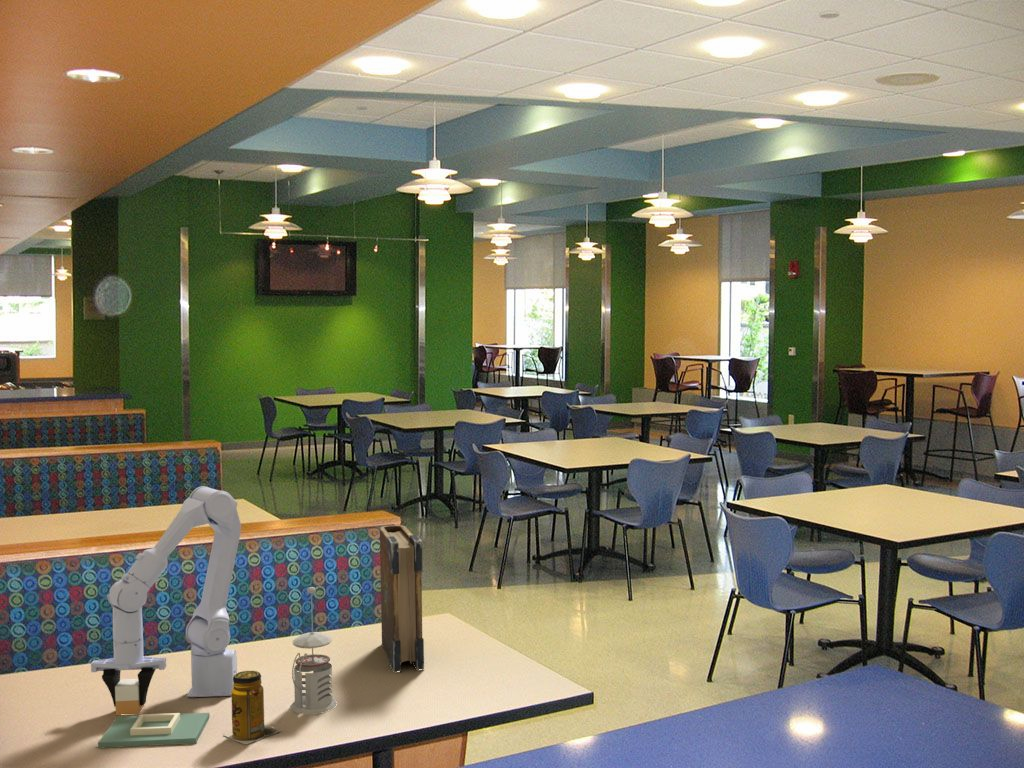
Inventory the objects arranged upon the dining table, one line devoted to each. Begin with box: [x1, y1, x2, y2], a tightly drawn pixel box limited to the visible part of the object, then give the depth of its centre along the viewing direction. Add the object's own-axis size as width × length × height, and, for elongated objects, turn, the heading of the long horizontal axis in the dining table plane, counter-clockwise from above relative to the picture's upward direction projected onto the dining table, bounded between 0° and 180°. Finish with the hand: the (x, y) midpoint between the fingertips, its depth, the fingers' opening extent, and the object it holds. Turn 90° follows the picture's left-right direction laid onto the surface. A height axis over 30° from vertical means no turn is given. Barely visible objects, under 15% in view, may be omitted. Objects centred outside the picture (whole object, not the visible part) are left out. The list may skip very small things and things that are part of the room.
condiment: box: [223, 670, 283, 745], centre depth 199 cm, size 7×8×12 cm
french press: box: [289, 586, 338, 715], centre depth 213 cm, size 10×12×25 cm
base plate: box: [97, 712, 211, 749], centre depth 201 cm, size 18×13×2 cm
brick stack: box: [115, 678, 145, 716], centre depth 212 cm, size 4×4×6 cm
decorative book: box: [379, 524, 425, 672], centre depth 245 cm, size 23×7×30 cm, turn 15°
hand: (130, 704), depth 212 cm, fingers closed on brick stack, 4 cm apart
